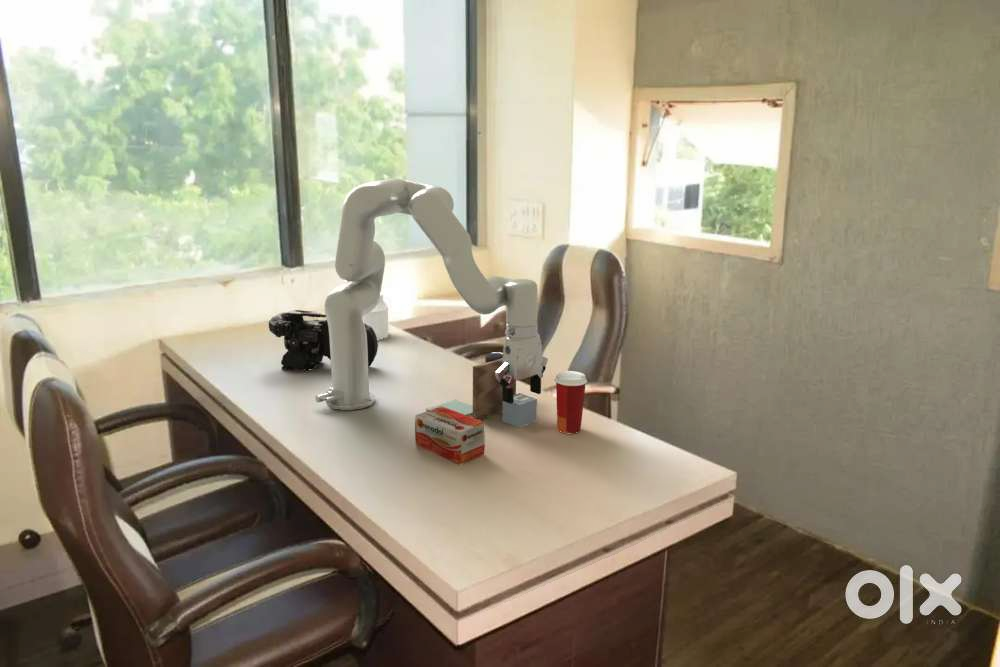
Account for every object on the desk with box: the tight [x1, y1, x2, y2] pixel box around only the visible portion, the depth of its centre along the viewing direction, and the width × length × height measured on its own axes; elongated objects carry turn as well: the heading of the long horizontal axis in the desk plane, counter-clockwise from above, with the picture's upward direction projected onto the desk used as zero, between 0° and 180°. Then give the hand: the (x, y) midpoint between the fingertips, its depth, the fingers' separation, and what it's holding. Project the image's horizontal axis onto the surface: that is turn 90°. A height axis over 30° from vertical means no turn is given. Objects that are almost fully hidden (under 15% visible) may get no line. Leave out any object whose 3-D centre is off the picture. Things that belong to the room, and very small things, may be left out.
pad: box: [425, 399, 473, 417], centre depth 198 cm, size 10×10×1 cm
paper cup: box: [554, 370, 588, 434], centre depth 185 cm, size 8×8×14 cm
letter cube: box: [501, 392, 538, 428], centre depth 191 cm, size 6×6×6 cm
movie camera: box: [268, 309, 379, 371], centre depth 228 cm, size 31×18×18 cm, turn 85°
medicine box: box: [414, 406, 486, 466], centre depth 174 cm, size 15×8×8 cm, turn 47°
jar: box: [363, 292, 390, 339], centre depth 263 cm, size 12×10×15 cm
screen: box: [471, 358, 517, 422], centre depth 195 cm, size 14×4×14 cm, turn 134°
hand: (522, 397), depth 190 cm, fingers open, 9 cm apart
